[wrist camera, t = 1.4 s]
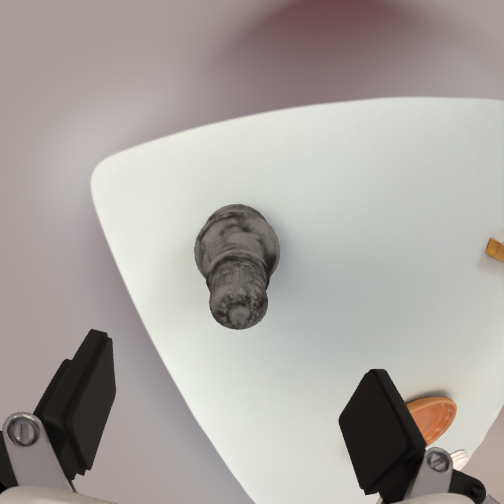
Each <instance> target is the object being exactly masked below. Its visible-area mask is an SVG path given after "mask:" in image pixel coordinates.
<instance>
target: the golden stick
mask: <svg viewBox="0 0 504 504" xmlns="http://www.w3.org/2000/svg"><path fill="white" fill-rule="evenodd" d="M486 253H487V254H489V255H490V256H492V257H494V258H495V259H498V260H501V261H504V243H502V242H500V241H497V240H495V239H493V238H491V239H490V242H489V245H488V247H487V250H486Z"/></svg>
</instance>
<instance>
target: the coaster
mask: <svg viewBox="0 0 504 504" xmlns="http://www.w3.org/2000/svg"><path fill="white" fill-rule="evenodd" d="M450 456H451V458H452V460H453V469H456V470H458V471H459V470H460V469H461V468H462V467H463V466H464V465H465V464H466V463H467V462H468V457H467V455H466V454H465V451H463V450H460V451H457V452H455V453H453V454H451V455H450Z"/></svg>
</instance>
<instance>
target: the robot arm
mask: <svg viewBox="0 0 504 504" xmlns="http://www.w3.org/2000/svg"><path fill="white" fill-rule="evenodd" d="M115 394H116V386H115V374H114V362H113V346H112V339H111V338H109V337H108V335H107V333H106V332H102V331H98V330H94V329H91V330H90V331H89V333H88V334H87V336H86V338H85V339H84V341H83V343H82V344H81V346H80V347H79V349H78V351H77V353H76V354H75V356H74V358H73V359H72V360H69V359H66V360H64V361H63V362H62V364H61V365H60V367H59V369H58V370H57V372H56V374H55V375H54V377H53V379H52V380H51V382H50V384H49V386H48V387H47V389H46V391H45V393H44V394H43V396H42V398H41V400H40V402H39V403H38V405H37V407H36V409H35V411H34V413H33V414H31V413H26V412H17V413H14V414H12V415H10V416H9V417H8V418H7V419H6V420H5V422H4V424H3V428H2V431H0V504H117V503H113V502H109V501H105V500H101V499H97V498H94V497H90V496H86V495H83V494H79V493H78V492H77V490H76V488H75V487H74V484H73V483H72V481H71V480H74V479H75V475H76V473H77V474H80V475H83V476H84V474H85V471H86V469H87V470H91V468H92V465H93V461H94V458H95V455H96V452H97V449H98V446H99V443H100V440H101V436H102V433H103V430H104V427H105V424H106V422H107V419H108V416H109V413H110V410H111V407H112V404H113V402H114V399H115ZM339 426H340V429H341V431H342V434H343V437H344V440H345V443H346V446H347V449H348V452H349V455H350V458H351V461H352V464H353V468H354V471H355V474H356V477H357V480H358V483H359V486H360V488H361V489H363V490H364V493H365V495H370V494H375V493H378V492H379V494H380V497H379V499H378V501H377V503H376V504H500V503H499V502H497V501H496V500H495V499H494V498H492V497H491V496H490V495H487V496H486V489H485V487H484V485H483V484H482V483H481V481H479V480H478V479H475V478H473V477H471V476H469V475H466V474H464V473H462V472H460V471H458V470H456V469H453V460H452V458H451V456H450V454H449V453H448V452H447V451H445V450H444V449H442V448H438V447H432V448H429V449H428V450H427V451H426V449H425V447H426V446H427V443H426V441H425V439H424V437H423V435H422V433H421V432H420V430H419V428H418V426H417V424H416V422H415V421H414V419H413V417H412V415H411V413H410V411H409V410H408V408H407V406H406V404H405V403H404V401H403V399H402V397H401V395H400V394H399V392H398V390H397V388H396V387H395V385H394V383H393V382H392V380H391V378H390V376H389V375H388V373H387V371H386V370H384V369H371V370H369V372H368V373H366V374H365V375H364V376H363V378H362V380H361V382H360V383H359V385H358V387H357V389H356V390H355V392H354V394H353V395H352V397H351V399H350V400H349V402H348V404H347V405H346V407H345V408H344V410H343V411H342V413H341V415H340V417H339Z"/></svg>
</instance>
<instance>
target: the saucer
mask: <svg viewBox="0 0 504 504" xmlns="http://www.w3.org/2000/svg"><path fill="white" fill-rule="evenodd" d="M406 406H407V408H408V410H409V411H410V413H411V415H412V417H413V419H414V421H415V422H416V424H417V426H418V428H419V430H420V432H421V433H422V435H423V437H424V439H425V441H426V443H427V446H429V445H430V444H432V443H433V442H434V441H435V440H437V439H438V438H439V437H440V436H441V435H442V434H443V433H444V432H445V431H446V430H447V429H448V427H449V426H450V425H451V423H452V422H453V420H454V418H455V415H456V411H457V407H456V404H455V403H454V402H453V401H452V400H451V399H449V398H446V397H426V398H421V399H418V400H415V401H412V402H410V403H407V404H406ZM427 446H426V447H427ZM426 447H425V448H426Z"/></svg>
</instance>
